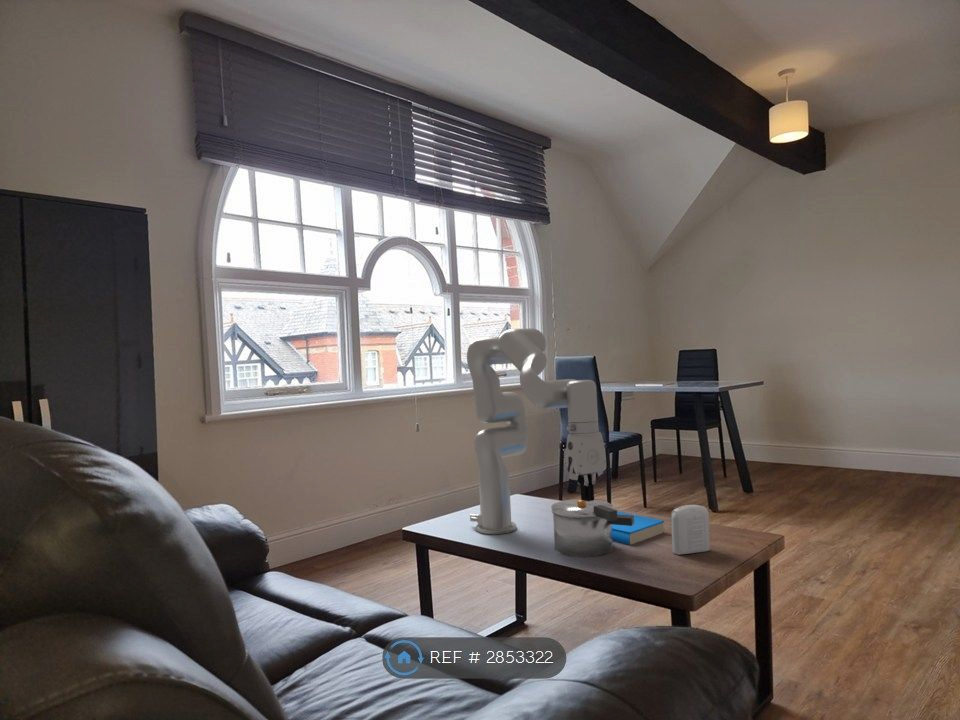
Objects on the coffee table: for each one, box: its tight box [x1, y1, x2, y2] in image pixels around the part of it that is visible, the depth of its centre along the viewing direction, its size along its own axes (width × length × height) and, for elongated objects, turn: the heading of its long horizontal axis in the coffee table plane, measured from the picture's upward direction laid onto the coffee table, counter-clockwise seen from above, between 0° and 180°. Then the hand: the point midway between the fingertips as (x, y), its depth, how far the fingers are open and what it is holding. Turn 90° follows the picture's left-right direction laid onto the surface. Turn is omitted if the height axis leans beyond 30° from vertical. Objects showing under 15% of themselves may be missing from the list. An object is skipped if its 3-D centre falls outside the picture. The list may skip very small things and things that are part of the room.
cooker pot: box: [552, 513, 634, 558], centre depth 176 cm, size 22×16×10 cm
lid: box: [551, 498, 618, 521], centre depth 174 cm, size 23×17×3 cm
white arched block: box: [670, 504, 711, 556], centre depth 170 cm, size 10×4×12 cm, turn 106°
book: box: [612, 510, 665, 546], centre depth 192 cm, size 17×4×25 cm
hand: (587, 500), depth 163 cm, fingers closed
